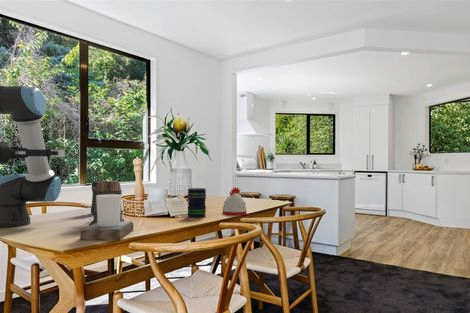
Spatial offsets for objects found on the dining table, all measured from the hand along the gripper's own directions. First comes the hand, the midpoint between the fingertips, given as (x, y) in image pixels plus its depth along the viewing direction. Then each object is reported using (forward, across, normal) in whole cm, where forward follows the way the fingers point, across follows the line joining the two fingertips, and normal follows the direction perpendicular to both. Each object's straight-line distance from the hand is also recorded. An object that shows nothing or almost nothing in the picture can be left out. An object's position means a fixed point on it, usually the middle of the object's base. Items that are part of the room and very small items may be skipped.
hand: (53, 153), depth 136 cm
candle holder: (+15, +14, -29) cm, 36 cm away
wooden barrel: (+52, -34, -34) cm, 71 cm away
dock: (+15, +14, -33) cm, 39 cm away
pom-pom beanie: (+93, +29, -34) cm, 103 cm away
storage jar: (+72, +17, -34) cm, 81 cm away
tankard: (+32, -7, -33) cm, 47 cm away
